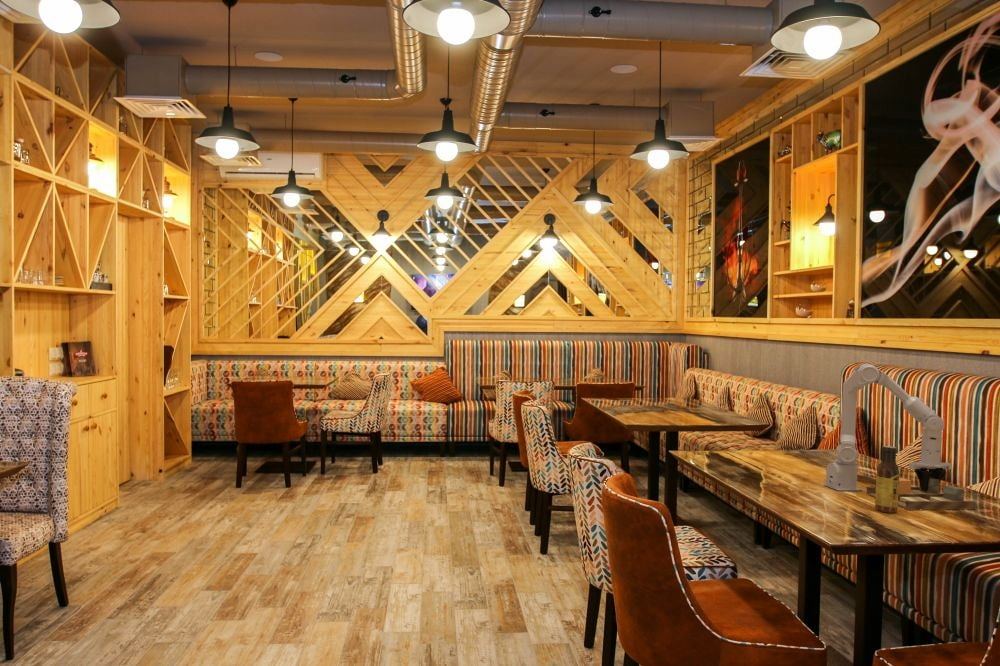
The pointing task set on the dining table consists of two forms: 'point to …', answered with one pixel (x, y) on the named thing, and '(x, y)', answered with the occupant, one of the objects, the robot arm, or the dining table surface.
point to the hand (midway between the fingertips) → (928, 490)
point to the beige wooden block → (929, 487)
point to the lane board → (932, 499)
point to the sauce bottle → (887, 481)
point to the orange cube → (904, 486)
